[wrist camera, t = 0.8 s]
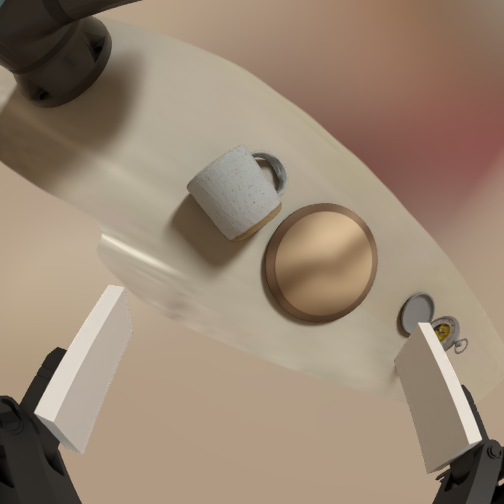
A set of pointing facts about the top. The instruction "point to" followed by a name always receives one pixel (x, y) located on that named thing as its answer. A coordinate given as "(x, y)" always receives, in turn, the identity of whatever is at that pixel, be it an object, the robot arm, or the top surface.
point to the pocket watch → (423, 312)
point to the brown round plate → (321, 262)
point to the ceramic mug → (239, 192)
